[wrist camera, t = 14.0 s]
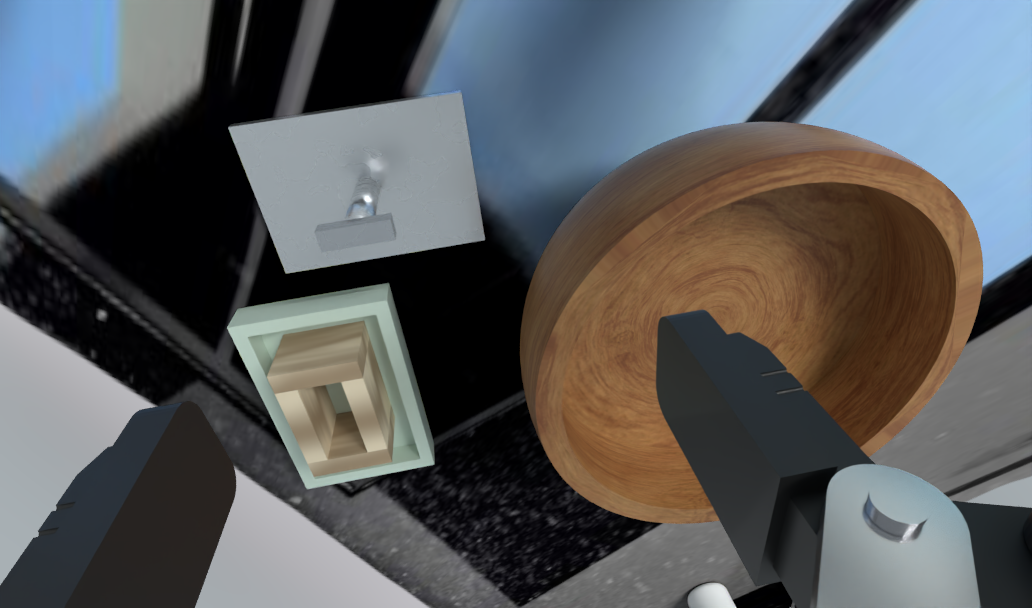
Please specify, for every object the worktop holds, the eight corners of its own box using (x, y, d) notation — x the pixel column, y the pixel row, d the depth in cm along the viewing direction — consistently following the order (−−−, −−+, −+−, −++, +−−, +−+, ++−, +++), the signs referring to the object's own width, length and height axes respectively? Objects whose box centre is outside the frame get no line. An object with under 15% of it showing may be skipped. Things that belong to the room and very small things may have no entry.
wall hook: (460, 89, 33) (470, 120, 26) (484, 235, 39) (497, 293, 32) (232, 124, 32) (179, 165, 25) (288, 268, 38) (257, 335, 31)
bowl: (674, 412, 51) (757, 557, 38) (438, 317, 42) (444, 467, 29) (875, 190, 41) (1074, 285, 29) (627, 1, 32) (760, 19, 19)
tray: (388, 282, 39) (386, 300, 37) (433, 443, 49) (434, 464, 46) (237, 308, 39) (227, 327, 37) (312, 466, 48) (306, 489, 46)
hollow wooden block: (283, 334, 40) (266, 377, 36) (364, 320, 40) (357, 361, 36) (331, 446, 46) (321, 493, 42) (400, 433, 47) (398, 479, 42)
